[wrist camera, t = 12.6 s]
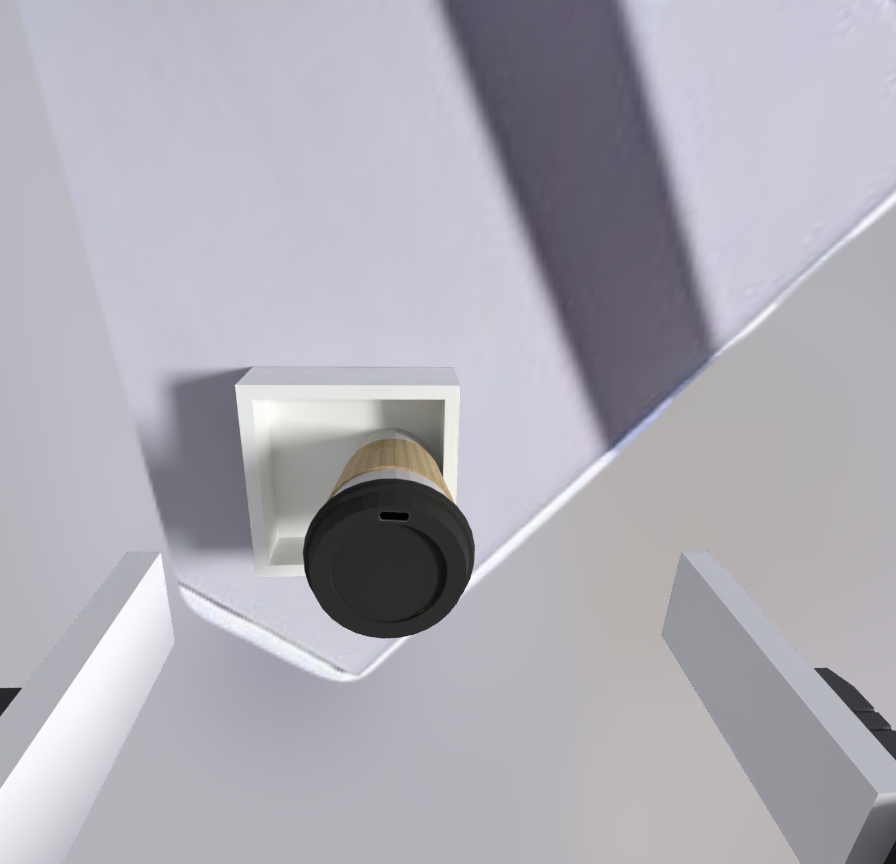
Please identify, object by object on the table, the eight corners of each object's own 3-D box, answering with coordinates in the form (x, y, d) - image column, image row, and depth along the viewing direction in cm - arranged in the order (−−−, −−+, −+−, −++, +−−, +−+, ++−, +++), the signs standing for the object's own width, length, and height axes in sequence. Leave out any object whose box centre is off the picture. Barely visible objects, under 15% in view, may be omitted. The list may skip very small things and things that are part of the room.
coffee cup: (327, 516, 46) (295, 645, 32) (331, 400, 43) (298, 488, 29) (447, 522, 47) (468, 650, 33) (460, 410, 44) (489, 499, 30)
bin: (252, 366, 42) (234, 385, 38) (453, 367, 44) (460, 385, 39) (269, 541, 48) (255, 577, 43) (448, 538, 49) (453, 571, 44)
